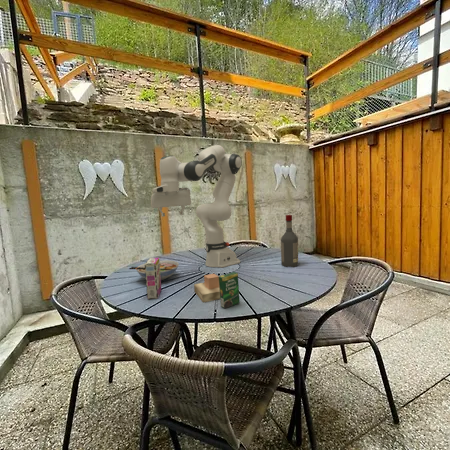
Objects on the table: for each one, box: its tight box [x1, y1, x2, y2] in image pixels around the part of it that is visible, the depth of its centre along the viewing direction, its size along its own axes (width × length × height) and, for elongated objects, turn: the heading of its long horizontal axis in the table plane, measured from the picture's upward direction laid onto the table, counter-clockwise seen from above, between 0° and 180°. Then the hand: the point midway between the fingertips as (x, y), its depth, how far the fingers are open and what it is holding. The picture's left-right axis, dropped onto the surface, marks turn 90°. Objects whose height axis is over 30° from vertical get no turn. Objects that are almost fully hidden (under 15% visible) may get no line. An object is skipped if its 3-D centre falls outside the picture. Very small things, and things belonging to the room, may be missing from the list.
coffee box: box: [218, 271, 241, 310], centre depth 107 cm, size 8×3×13 cm, turn 123°
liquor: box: [280, 214, 299, 268], centre depth 157 cm, size 9×9×30 cm
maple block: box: [193, 282, 220, 304], centre depth 120 cm, size 12×14×4 cm
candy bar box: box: [144, 257, 162, 300], centre depth 123 cm, size 11×5×16 cm, turn 5°
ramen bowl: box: [128, 259, 180, 281], centre depth 146 cm, size 25×23×8 cm
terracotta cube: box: [203, 273, 220, 289], centre depth 120 cm, size 5×5×5 cm
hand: (172, 215), depth 136 cm, fingers open, 8 cm apart
